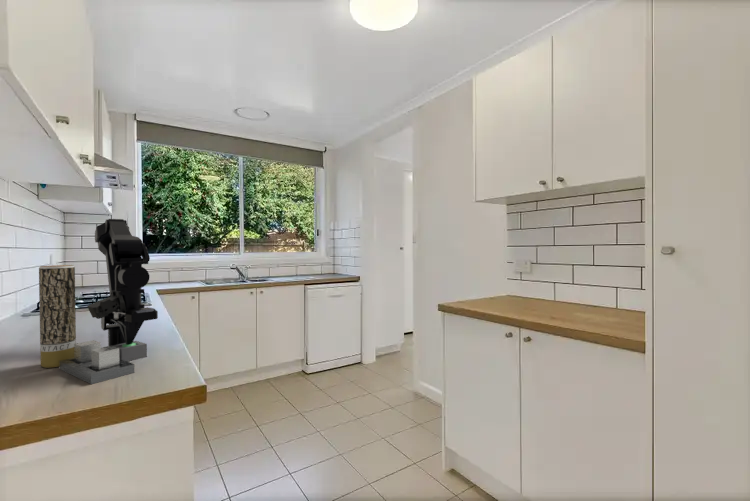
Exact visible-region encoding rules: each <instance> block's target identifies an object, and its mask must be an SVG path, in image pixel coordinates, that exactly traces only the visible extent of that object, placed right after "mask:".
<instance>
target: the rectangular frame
mask: <svg viewBox="0 0 750 501" xmlns="http://www.w3.org/2000/svg"><path fill="white" fill-rule="evenodd" d="M59 370H60V371H63V372H65V373H67V374H69V375H71V376H74V377H75V378H77V379H79V380H81V381H84V382H86V383H88V384H89V385H94V384H97V383H101V382H104V381H108V380H111V379H116V378H120V377H123V376H124V377H125V376H127V375H131V374H134V373H135V363H132V362H131V361H124V360H121V359H119V366H117V367H113V368H109V369H105V370H101V371H97V372H96V371H93V370H92V361H90V362H85V363H81V364H77V363H75V360H74V358H71V359H66V360H61V361H59Z"/></svg>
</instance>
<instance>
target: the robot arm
mask: <svg viewBox="0 0 750 501" xmlns="http://www.w3.org/2000/svg"><path fill="white" fill-rule="evenodd" d="M94 242H95V243H97V248H98V250H99V251H100V253H102V254H103V255H104V256H105V263H106V271H107V272H106V273H107V280H108V290H109V295H108V297H106V298H102V299H101V300H98V301H96V302H93V303H91V304H89V305H87V309H88V311H89V313H90V315H91V317H92V318H94V319H95V318H96V319H99V320H100V325H101V326H100V327H101V329H102V331H105V332H106V331H107V338H108V340H107V342H108V343H107V345H108V346H113V345H118V344H123V343H126V344H127V345H129V344H132V343H133V341H135V338H136V336H137V335H138V333H139V330H140V329H141V327H142V325H143V324H144V322H146V321H151V320H152V321H153V320H158V317H159V316H158V314H159V313H158V310H157V309H156V308H154V307H145V304H144V303H142V294H144V293H145V289H144V287H145V286H147V284H148V283H149V281H150V274H149V271H148V270H147V269H146V268H145V267H143V266H142V265H149V262H150V258H151V257H150V254H149V250H148V248H147V246H146V244H145V243H144V242H143V240H142V239H141V238H140V237H138V236H135V235H132V233H131V230H130V227H129V226H128V223H127V220H125V219H123V218H108V219H105V222H103V223H101V224H99V225H96V227H95V231H94ZM108 346H106V347H108Z"/></svg>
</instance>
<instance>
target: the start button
mask: <svg viewBox="0 0 750 501" xmlns="http://www.w3.org/2000/svg"><path fill="white" fill-rule="evenodd" d="M134 345H136V343H132V344H129V345H127V344H123V345H122V347H129V346H134Z"/></svg>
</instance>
